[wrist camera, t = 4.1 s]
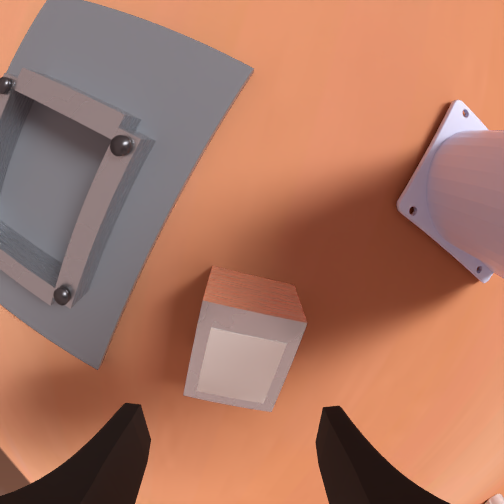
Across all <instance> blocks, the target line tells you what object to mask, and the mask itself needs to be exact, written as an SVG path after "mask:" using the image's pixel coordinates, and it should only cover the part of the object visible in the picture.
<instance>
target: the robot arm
mask: <svg viewBox="0 0 504 504" xmlns="http://www.w3.org/2000/svg"><path fill="white" fill-rule="evenodd" d="M463 111H464V112H465V117H464V116H463V113H462V112H463ZM412 206H413V207H414V211H413V213H412V214H410V213H409V210H410V208H411V207H412ZM397 210H398V211H399V212H400V213H401V214H402V215H404V216H405V217H406V218H407V219H409V220H410V221H411V222H412V223H414V224H415V225H416V226H417V227H419V228H420V229H421V230H422V231H424V232H425V233H426V234H427V235H428V236H430V237H431V238H432V239H433V240H434V241H436V242H437V243H438V244H439V245H440V246H442V247H443V248H444V249H445V250H446V251H447V252H449V253H450V254H451V255H452V256H453V257H454V258H455V259H457V260H458V261H459V262H460V263H461V264H462V265H463V266H464V267H465V268H467V269H468V270H469V271H470V272H471V273H472V274H473V275H474V276H475V277H476V278H477V279H478V280H480V281H481V282H483V283H486V282H487V281H488V280H489V279H490V277H491V276H492V274H493V272H494V273H495V274H497V275H499V276H500V277H502V278H503V279H504V131H503V130H488V129H487V128H486V126H485V125H484V124H483V123H482V122H481V121H480V120H479V119H478V118H477V116H476V115H475V114H474V113H473V112H472V111H471V110H470V109H469V108H468V107H467V106H466V105H465V104H464V103H463V102H462V101H461V100H454V101H453V102H452V103H451V105H450V107H449V109H448V111H447V113H446V115H445V117H444V119H443V121H442V122H441V124H440V126H439V128H438V130H437V132H436V134H435V136H434V138H433V140H432V141H431V143H430V145H429V147H428V149H427V151H426V152H425V154H424V156H423V158H422V160H421V161H420V163H419V165H418V167H417V168H416V170H415V172H414V174H413V175H412V177H411V179H410V181H409V182H408V184H407V186H406V187H405V189H404V191H403V192H402V194H401V196H400V198H399V199H398V201H397ZM478 267H479V268H478ZM477 268H478V270H477ZM150 442H151V438H150V435H149V431H148V428H147V425H146V421H145V418H144V415H143V411H142V407H141V405H139V404H131V403H125V404H124V405H123V406H122V407H121V408H120V409H119V410H118V411H117V412H116V413H115V414H114V416H113V417H112V418H111V419H110V420H109V421H108V422H107V423H106V424H105V425H104V427H103V428H102V429H101V430H100V431H99V432H98V433H97V434H96V435H95V436H94V437H93V438H92V439H91V440H90V441H89V442H88V443H87V444H86V445H84V446H83V447H82V448H81V449H80V450H79V451H78V452H77V453H76V454H74V455H73V456H72V457H71V458H70V459H68V460H67V461H66V462H65V463H63V464H62V465H61V466H59V467H58V468H56V469H55V470H53V471H52V472H50V473H49V474H47V475H46V476H44V477H42V478H40V479H39V480H37V481H35V482H33V483H31V484H30V485H27V486H25V487H23V488H21V489H18V490H16V491H14V492H11V493H8V494H5V495H2V496H0V504H135V502H136V498H137V495H138V492H139V488H140V485H141V482H142V478H143V475H144V472H145V468H146V465H147V461H148V455H149V449H150ZM316 449H317V456H318V463H319V468H320V472H321V475H322V479H323V483H324V486H325V490H326V494H327V497H328V501H329V504H450V503H448V502H446V501H444V500H442V499H440V498H438V497H436V496H434V495H433V494H431V493H429V492H428V491H426V490H424V489H423V488H421V487H419V486H418V485H416V484H415V483H414V482H412V481H411V480H409V479H408V478H407V477H405V476H404V475H403V474H402V473H400V472H399V471H398V470H397V469H396V468H394V467H393V466H392V465H391V464H390V463H389V462H388V461H387V460H386V459H385V458H384V457H383V456H382V455H381V454H380V453H379V452H378V451H377V450H376V449H375V448H374V447H373V446H372V445H371V444H370V443H369V441H368V440H367V439H366V438H365V437H364V436H363V435H362V433H361V432H360V431H359V430H358V429H357V427H356V426H355V425H354V424H353V422H352V421H351V420H350V418H349V417H348V416H347V414H346V413H345V412H344V410H343V409H342V408H341V407H340V406H331V407H323V410H322V415H321V419H320V424H319V429H318V433H317V438H316Z"/></svg>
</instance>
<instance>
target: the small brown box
mask: <svg viewBox="0 0 504 504" xmlns="http://www.w3.org/2000/svg"><path fill="white" fill-rule="evenodd" d="M306 326H307V320H306V317H305V314H304V312H303V309H302V306H301V303H300V300H299V297H298V294H297V291H296V289H295V286H294V285H293V284H288V283H284V282H279V281H275V280H271V279H266V278H262V277H258V276H253V275H249V274H245V273H241V272H236V271H232V270H228V269H224V268H220V267H215V266H212V269H211V272H210V276H209V279H208V283H207V287H206V290H205V294H204V297H203V301H202V306H201V310H200V315H199V320H198V324H197V329H196V334H195V339H194V344H193V348H192V353H191V358H190V363H189V368H188V373H187V378H186V384H185V389H184V394H183V395H184V396H188V397H193V398H197V399H202V400H206V401H211V402H216V403H221V404H227V405H232V406H237V407H243V408H249V409H255V410H262V411H269V412H272V409H273V407H274V405H275V402H276V400H277V398H278V395H279V393H280V391H281V388H282V386H283V384H284V381H285V379H286V376H287V374H288V371H289V369H290V367H291V364H292V362H293V359H294V357H295V354H296V352H297V349H298V346H299V344H300V341H301V339H302V336H303V334H304V331H305V328H306Z"/></svg>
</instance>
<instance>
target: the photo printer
mask: <svg viewBox="0 0 504 504" xmlns="http://www.w3.org/2000/svg"><path fill="white" fill-rule="evenodd" d="M485 504H504V498H503V496H502V495H501V494H496V495H494V496H492V497H491V498H489V499H488V501H487V502H486V503H485Z"/></svg>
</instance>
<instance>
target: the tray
mask: <svg viewBox="0 0 504 504" xmlns="http://www.w3.org/2000/svg"><path fill="white" fill-rule="evenodd" d="M253 72H254V68H252V67H250V66H248V65H246V64H244V63H242V62H240V61H238V60H236V59H234V58H232V57H230V56H228V55H226V54H224V53H222V52H220V51H218V50H216V49H214V48H212V47H210V46H208V45H205V44H203V43H201V42H199V41H196V40H194V39H192V38H190V37H187V36H185V35H183V34H180V33H178V32H175V31H173V30H170V29H168V28H165V27H163V26H160V25H158V24H155V23H152V22H150V21H147V20H144V19H142V18H139V17H136V16H133V15H130V14H127V13H124V12H121V11H118V10H115V9H112V8H108V7H105V6H102V5H98V4H95V3H91V2H87V1H84V0H47V1H46V3H45V4H44V6H43V7H42V9H41V10H40V12H39V13H38V15H37V17H36V18H35V20H34V22H33V23H32V25H31V27H30V28H29V30H28V32H27V34H26V35H25V37H24V39H23V41H22V43H21V44H20V46H19V48H18V50H17V52H16V54H15V56H14V58H13V60H12V62H11V64H10V66H9V68H8V70H7V72H6V73H4V76H3V77H2V78H0V304H1V305H2V306H3V307H5V308H6V309H7V310H8V311H10V312H11V313H12V314H14V315H15V316H16V317H18V318H19V319H20V320H22V321H23V322H24V323H26V324H27V325H28V326H30V327H31V328H33V329H34V330H36V331H37V332H38V333H40V334H41V335H43V336H44V337H46V338H47V339H49V340H50V341H52V342H53V343H55V344H56V345H58V346H59V347H61V348H62V349H64V350H65V351H67V352H69V353H70V354H72V355H73V356H75V357H77V358H78V359H80V360H82V361H83V362H85V363H87V364H88V365H90V366H92V367H93V368H95V369H97V370H98V369H99V368H100V366H101V364H102V362H103V360H104V357H105V355H106V352H107V350H108V347H109V345H110V342H111V340H112V337H113V335H114V333H115V330H116V328H117V325H118V323H119V321H120V318H121V316H122V314H123V311H124V309H125V307H126V305H127V302H128V300H129V298H130V296H131V293H132V291H133V289H134V287H135V285H136V282H137V280H138V278H139V276H140V274H141V272H142V270H143V268H144V265H145V263H146V261H147V259H148V257H149V255H150V253H151V251H152V249H153V247H154V245H155V243H156V241H157V239H158V237H159V235H160V233H161V231H162V229H163V227H164V225H165V223H166V221H167V219H168V217H169V215H170V213H171V211H172V209H173V208H174V206H175V204H176V202H177V200H178V198H179V196H180V194H181V192H182V191H183V189H184V187H185V185H186V183H187V181H188V180H189V178H190V176H191V174H192V172H193V171H194V169H195V167H196V165H197V164H198V162H199V160H200V158H201V157H202V155H203V153H204V151H205V150H206V148H207V146H208V144H209V143H210V141H211V139H212V138H213V136H214V134H215V133H216V131H217V129H218V128H219V126H220V124H221V123H222V121H223V119H224V118H225V116H226V115H227V113H228V111H229V110H230V108H231V106H232V105H233V103H234V102H235V100H236V99H237V97H238V95H239V94H240V92H241V91H242V89H243V88H244V86H245V85H246V83H247V81H248V80H249V78H250V77H251V75H252V74H253Z"/></svg>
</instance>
